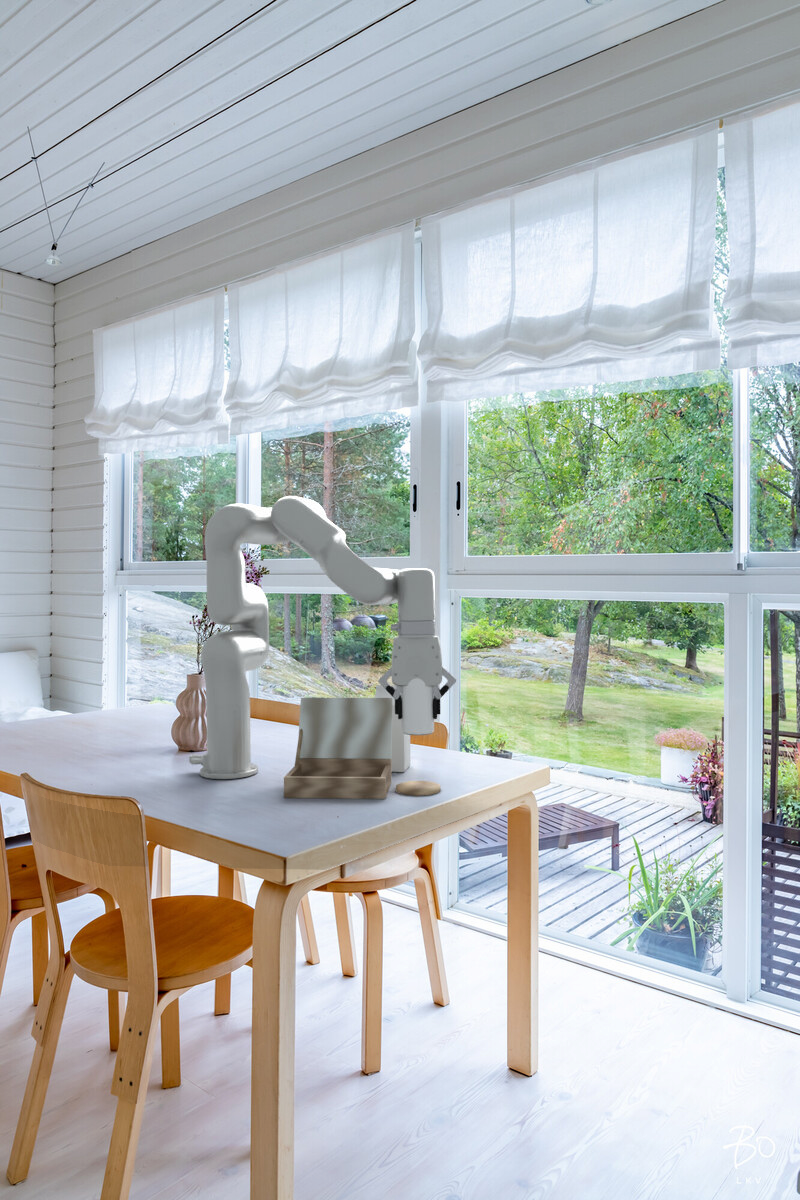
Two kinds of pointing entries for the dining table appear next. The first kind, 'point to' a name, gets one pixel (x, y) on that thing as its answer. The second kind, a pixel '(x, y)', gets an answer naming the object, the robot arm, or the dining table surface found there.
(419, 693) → the can
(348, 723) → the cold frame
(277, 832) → the dining table surface
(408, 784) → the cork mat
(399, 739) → the milk carton
